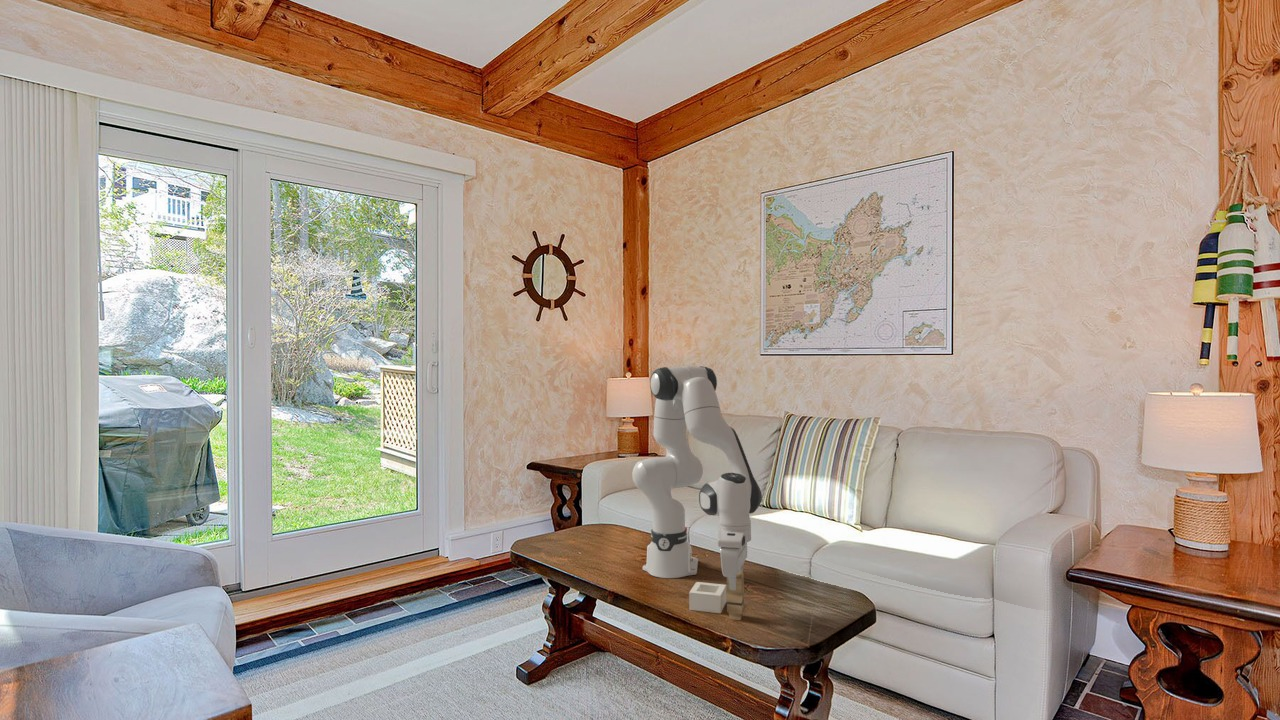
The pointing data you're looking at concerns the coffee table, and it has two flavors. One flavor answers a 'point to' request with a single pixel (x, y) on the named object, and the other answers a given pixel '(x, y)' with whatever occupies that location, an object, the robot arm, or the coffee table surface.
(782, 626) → the coffee table surface
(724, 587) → the socket board
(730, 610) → the oak peg
